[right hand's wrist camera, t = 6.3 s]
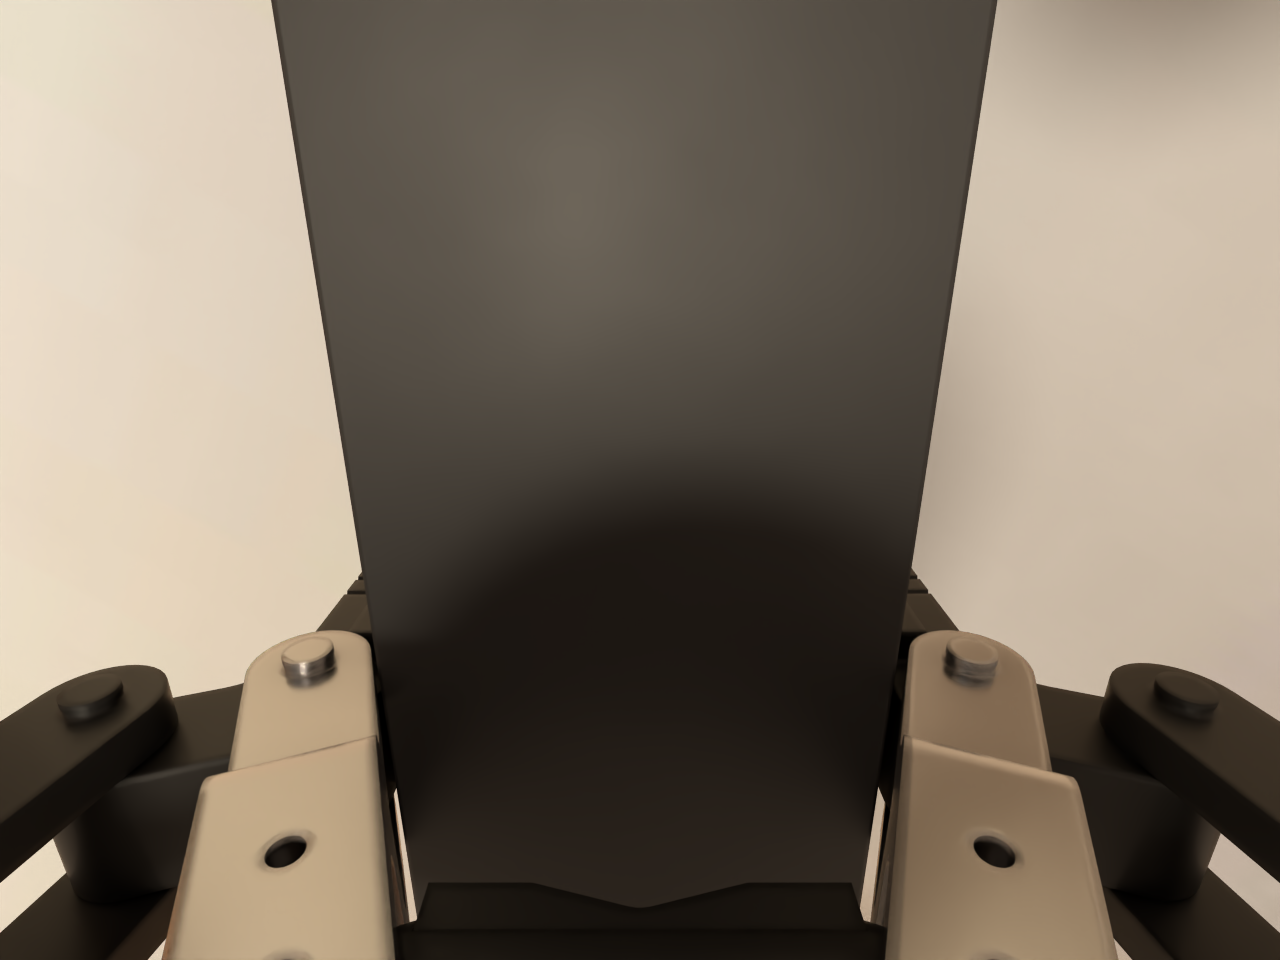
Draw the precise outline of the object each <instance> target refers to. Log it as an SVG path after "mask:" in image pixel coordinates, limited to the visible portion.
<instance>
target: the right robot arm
mask: <svg viewBox="0 0 1280 960" xmlns="http://www.w3.org/2000/svg"><path fill="white" fill-rule="evenodd" d="M878 787H879V789H880V792H881V794H882V797H883V799H884V801H885V804H884V811H883V817H882V824H881V833H880V842H879V851H878V860H877V869H876V878H875V887H874V896H873V905H872V913H871V922H867V921H864V920H863V917H862V914H861V911H860V908H859V904H858V901H857V898H856V895H855V892H854V889H853V886H852V882H748V883H744V884H740V885H736V886H731V887H727V888H723V889H719V890H715V891H711V892H707V893H703V894H699V895H695V896H691V897H687V898H683V899H679V900H675V901H671V902H667V903H663V904H659V905H655V906H650V907H644V908H636V907H630V906H625V905H621V904H617V903H613V902H609V901H605V900H601V899H597V898H593V897H589V896H585V895H581V894H577V893H573V892H569V891H565V890H561V889H557V888H553V887H549V886H544V885H540V884H536V883H532V882H428V885H427V889H426V892H425V895H424V898H423V901H422V904H421V908H420V911H419V914H418V917H417V920H416V921H413V922H409V913H408V904H407V896H406V887H405V878H404V869H403V860H402V851H401V842H400V833H399V824H398V817H397V810H396V804H395V798H394V792H395V790H396V781H395V775H394V769H393V762H392V756H391V750H390V744H389V737H388V731H387V725H386V718H385V712H384V706H383V700H382V693H381V687H380V681H379V674H378V668H377V662H376V656H375V649H374V643H373V637H372V630H371V624H370V618H369V612H368V605H367V599H366V593H365V586H364V580H363V574H362V573H361V574H360V575H359V576H358V580H355V582H354V583H353V584H352V586H351V587H350V588H349V589H348V591H347V595H344V596H343V597H342V598H341V600H340V601H339V602H338V604H337V605H336V606H335V607H334V609H333V610H332V611H331V613H330V614H329V615H328V616H327V618H326V619H325V620H324V622H323V623H322V624H321V626H320V627H319V628H318V629H317V631H316V632H311V633H307V634H303V635H299V636H296V637H293V638H290V639H288V640H285V641H283V642H280V643H278V644H277V645H275V646H273V647H271V648H269V649H268V650H266V651H265V652H263V653H262V654H261V655H259V656H258V657H257V658H256V659H255V660H254V661H253V662H252V663H251V665H250V666H249V668H248V669H247V672H246V675H245V680H244V683H242V684H239V685H235V686H231V687H227V688H222V689H217V690H212V691H206V692H201V693H196V694H191V695H185V696H180V697H175V698H173V697H172V693H171V690H170V686H169V683H168V679H167V677H166V675H165V673H163V672H162V671H161V670H159V669H157V668H155V667H150V666H144V665H126V666H118V667H112V668H107V669H102V670H98V671H95V672H91V673H88V674H85V675H82V676H79V677H77V678H74V679H72V680H69V681H67V682H65V683H63V684H61V685H59V686H57V687H55V688H53V689H51V690H49V691H48V692H46V693H44V694H42V695H41V696H39V697H38V698H36V699H35V700H33V701H32V702H30V703H28V704H27V705H25V706H24V707H22V708H21V709H19V710H18V711H16V712H14V713H13V714H11V715H10V716H8V717H7V718H5V719H4V720H2V721H0V883H1V882H2V881H3V880H4V879H5V878H7V877H8V876H9V875H10V874H11V873H12V872H14V871H15V870H16V869H17V868H18V867H20V866H21V865H22V864H23V863H24V862H25V861H27V860H28V859H29V858H30V857H31V856H33V855H34V854H35V853H36V852H37V851H38V850H40V849H41V848H42V847H43V846H44V845H46V844H47V843H48V842H49V841H50V840H51V839H53V840H54V842H55V845H56V847H57V850H58V852H59V855H60V857H61V860H62V862H63V865H64V868H65V870H66V874H65V875H63V876H62V877H61V878H60V879H59V880H58V881H57V882H56V883H55V884H54V885H52V886H51V887H50V888H49V889H48V890H47V891H46V892H45V893H44V894H43V895H41V896H40V897H39V898H38V899H37V900H36V901H35V902H34V903H33V904H32V905H30V906H29V907H28V908H27V909H26V910H25V911H24V912H23V913H22V914H21V915H19V916H18V917H17V918H16V919H15V920H14V921H13V922H12V923H11V924H10V925H8V926H7V927H6V928H5V929H4V930H3V931H2V932H1V933H0V960H148V959H149V958H150V956H151V955H152V954H153V953H154V952H155V951H156V949H157V948H158V947H159V946H160V945H161V944H162V942H163V941H164V940H165V939H166V942H165V947H164V951H163V956H162V960H1118V956H1117V951H1116V947H1115V942H1114V939H1115V940H1116V941H1117V942H1118V944H1119V945H1120V946H1121V947H1122V948H1123V949H1124V951H1125V952H1126V953H1127V954H1128V955H1129V956H1130V958H1131V959H1132V960H1280V933H1279V932H1278V931H1277V930H1276V929H1275V928H1274V927H1273V926H1272V925H1270V924H1269V923H1268V922H1267V921H1266V920H1265V919H1264V918H1263V917H1262V916H1261V915H1259V914H1258V913H1257V912H1256V911H1255V910H1254V909H1253V908H1252V907H1251V906H1250V905H1248V904H1247V903H1246V902H1245V901H1244V900H1243V899H1242V898H1241V897H1240V896H1239V895H1237V894H1236V893H1235V892H1234V891H1233V890H1232V889H1231V888H1230V887H1229V886H1228V885H1226V884H1225V883H1224V882H1223V881H1222V880H1221V879H1220V878H1219V877H1218V876H1217V875H1215V874H1214V873H1213V872H1212V871H1211V870H1210V869H1209V868H1208V865H1209V862H1210V859H1211V857H1212V854H1213V852H1214V849H1215V846H1216V844H1217V841H1218V839H1219V836H1220V834H1223V835H1224V836H1225V837H1226V838H1227V839H1229V840H1230V841H1231V842H1232V843H1233V844H1234V845H1236V846H1237V847H1238V848H1239V849H1240V850H1242V851H1243V852H1244V853H1245V854H1246V855H1247V856H1249V857H1250V858H1251V859H1252V860H1253V861H1255V862H1256V863H1257V864H1258V865H1259V866H1260V867H1262V868H1263V869H1264V870H1265V871H1266V872H1268V873H1269V874H1270V875H1271V876H1272V877H1273V878H1275V879H1276V880H1277V881H1278V882H1279V883H1280V721H1278V720H1276V719H1275V718H1273V717H1272V716H1270V715H1269V714H1267V713H1266V712H1264V711H1262V710H1261V709H1259V708H1258V707H1256V706H1255V705H1253V704H1252V703H1250V702H1248V701H1247V700H1245V699H1244V698H1242V697H1241V696H1239V695H1238V694H1236V693H1234V692H1233V691H1231V690H1229V689H1228V688H1226V687H1224V686H1222V685H1220V684H1218V683H1216V682H1214V681H1212V680H1210V679H1207V678H1205V677H1203V676H1200V675H1198V674H1195V673H1192V672H1189V671H1186V670H1182V669H1178V668H1175V667H1170V666H1165V665H1159V664H1151V663H1134V664H1127V665H1123V666H1121V667H1118V668H1116V669H1115V670H1114V671H1113V672H1112V674H1111V676H1110V678H1109V682H1108V685H1107V689H1106V692H1105V696H1104V697H1100V696H1095V695H1090V694H1085V693H1079V692H1074V691H1069V690H1064V689H1059V688H1053V687H1048V686H1044V685H1040V684H1036V680H1035V675H1034V672H1033V669H1032V668H1031V666H1030V665H1029V663H1028V662H1027V661H1026V660H1025V659H1024V658H1023V657H1022V656H1021V655H1019V654H1018V653H1017V652H1015V651H1014V650H1012V649H1011V648H1009V647H1007V646H1005V645H1004V644H1002V643H1000V642H997V641H995V640H992V639H990V638H987V637H984V636H981V635H977V634H973V633H969V632H962V631H959V630H958V629H957V627H956V626H955V625H954V623H953V622H952V621H951V619H950V618H949V617H948V615H947V614H946V613H945V612H944V610H943V609H942V608H941V606H940V605H939V604H938V602H937V601H936V600H935V598H934V597H933V596H932V595H931V594H928V589H927V588H926V587H925V585H924V584H923V583H922V581H921V580H920V579H917V575H916V574H915V572H914V571H913V570H912V568H911V573H910V580H909V586H908V593H907V600H906V606H905V613H904V619H903V626H902V633H901V639H900V646H899V652H898V659H897V666H896V672H895V679H894V685H893V692H892V699H891V705H890V712H889V718H888V725H887V732H886V738H885V745H884V751H883V758H882V765H881V771H880V778H879V784H878Z"/></svg>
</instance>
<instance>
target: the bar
mask: <svg viewBox="0 0 1280 960" xmlns="http://www.w3.org/2000/svg"><path fill="white" fill-rule="evenodd" d="M271 2H272V8H273V15H274V21H275V27H276V34H277V40H278V46H279V52H280V59H281V65H282V71H283V78H284V84H285V90H286V96H287V103H288V109H289V115H290V121H291V128H292V134H293V140H294V147H295V153H296V159H297V165H298V172H299V178H300V184H301V191H302V197H303V203H304V209H305V216H306V222H307V228H308V235H309V241H310V247H311V253H312V260H313V266H314V272H315V279H316V285H317V291H318V297H319V304H320V310H321V316H322V323H323V329H324V335H325V341H326V348H327V354H328V360H329V367H330V373H331V379H332V385H333V392H334V398H335V404H336V411H337V417H338V423H339V429H340V436H341V442H342V448H343V455H344V461H345V467H346V473H347V480H348V486H349V492H350V499H351V505H352V511H353V517H354V524H355V530H356V536H357V542H358V549H359V555H360V561H361V568H362V574H363V580H364V586H365V593H366V599H367V605H368V612H369V618H370V624H371V630H372V637H373V643H374V649H375V656H376V662H377V668H378V674H379V681H380V687H381V693H382V700H383V706H384V712H385V718H386V725H387V731H388V737H389V744H390V750H391V756H392V762H393V769H394V775H395V781H396V788H397V794H398V800H399V806H400V813H401V819H402V825H403V832H404V838H405V844H406V850H407V857H408V863H409V869H410V876H411V882H412V888H413V894H414V901H415V907H416V913H417V917H418V914H419V911H420V908H421V904H422V901H423V898H424V895H425V892H426V889H427V885H428V882H532V883H536V884H540V885H544V886H549V887H553V888H557V889H561V890H565V891H569V892H573V893H577V894H581V895H585V896H589V897H593V898H597V899H601V900H605V901H609V902H613V903H617V904H621V905H625V906H630V907H636V908H644V907H650V906H655V905H659V904H663V903H667V902H671V901H675V900H679V899H683V898H687V897H691V896H695V895H699V894H703V893H707V892H711V891H715V890H719V889H723V888H727V887H731V886H736V885H740V884H744V883H748V882H852V886H853V889H854V892H855V895H856V898H857V901H858V904H859V908H860V903H861V897H862V890H863V883H864V877H865V870H866V864H867V857H868V850H869V844H870V837H871V831H872V824H873V817H874V811H875V804H876V798H877V791H878V784H879V778H880V771H881V765H882V758H883V751H884V745H885V738H886V732H887V725H888V718H889V712H890V705H891V699H892V692H893V685H894V679H895V672H896V666H897V659H898V652H899V646H900V639H901V633H902V626H903V619H904V613H905V606H906V600H907V593H908V586H909V580H910V573H911V567H912V560H913V553H914V547H915V540H916V534H917V527H918V520H919V514H920V507H921V501H922V494H923V487H924V481H925V474H926V468H927V461H928V454H929V448H930V441H931V435H932V428H933V421H934V415H935V408H936V402H937V395H938V388H939V382H940V375H941V369H942V362H943V355H944V349H945V342H946V336H947V329H948V322H949V316H950V309H951V303H952V296H953V289H954V283H955V276H956V270H957V263H958V256H959V250H960V243H961V237H962V230H963V223H964V217H965V210H966V204H967V197H968V190H969V184H970V177H971V171H972V164H973V157H974V151H975V144H976V138H977V131H978V124H979V118H980V111H981V105H982V98H983V91H984V85H985V78H986V72H987V65H988V58H989V52H990V45H991V39H992V32H993V25H994V19H995V12H996V6H997V0H271Z"/></svg>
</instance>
